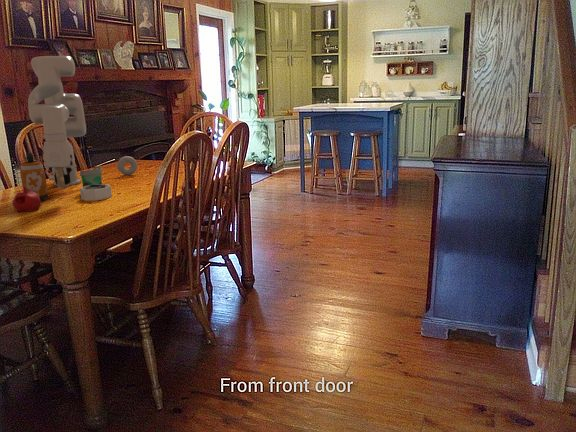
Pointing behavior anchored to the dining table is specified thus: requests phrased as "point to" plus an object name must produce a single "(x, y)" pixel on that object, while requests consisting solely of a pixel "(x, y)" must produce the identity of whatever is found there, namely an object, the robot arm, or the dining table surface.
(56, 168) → the grey rectangular block
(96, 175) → the food container
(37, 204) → the pomegranate
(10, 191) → the dining table surface
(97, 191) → the white octagonal tray
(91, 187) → the hollow square tube
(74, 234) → the dining table surface
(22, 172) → the canister
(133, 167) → the donut
